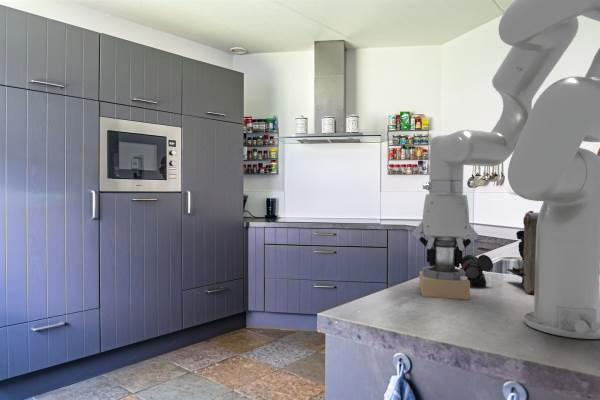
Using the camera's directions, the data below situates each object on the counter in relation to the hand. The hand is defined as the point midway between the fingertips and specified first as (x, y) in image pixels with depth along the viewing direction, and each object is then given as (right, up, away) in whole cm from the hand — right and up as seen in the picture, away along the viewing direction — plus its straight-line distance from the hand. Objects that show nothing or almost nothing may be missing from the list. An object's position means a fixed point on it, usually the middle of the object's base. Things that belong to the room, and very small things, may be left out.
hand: (443, 265), depth 98 cm
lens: (0, -1, 0) cm, 1 cm away
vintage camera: (+25, -7, +7) cm, 27 cm away
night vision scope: (+12, -7, +14) cm, 20 cm away
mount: (0, -7, 0) cm, 7 cm away
